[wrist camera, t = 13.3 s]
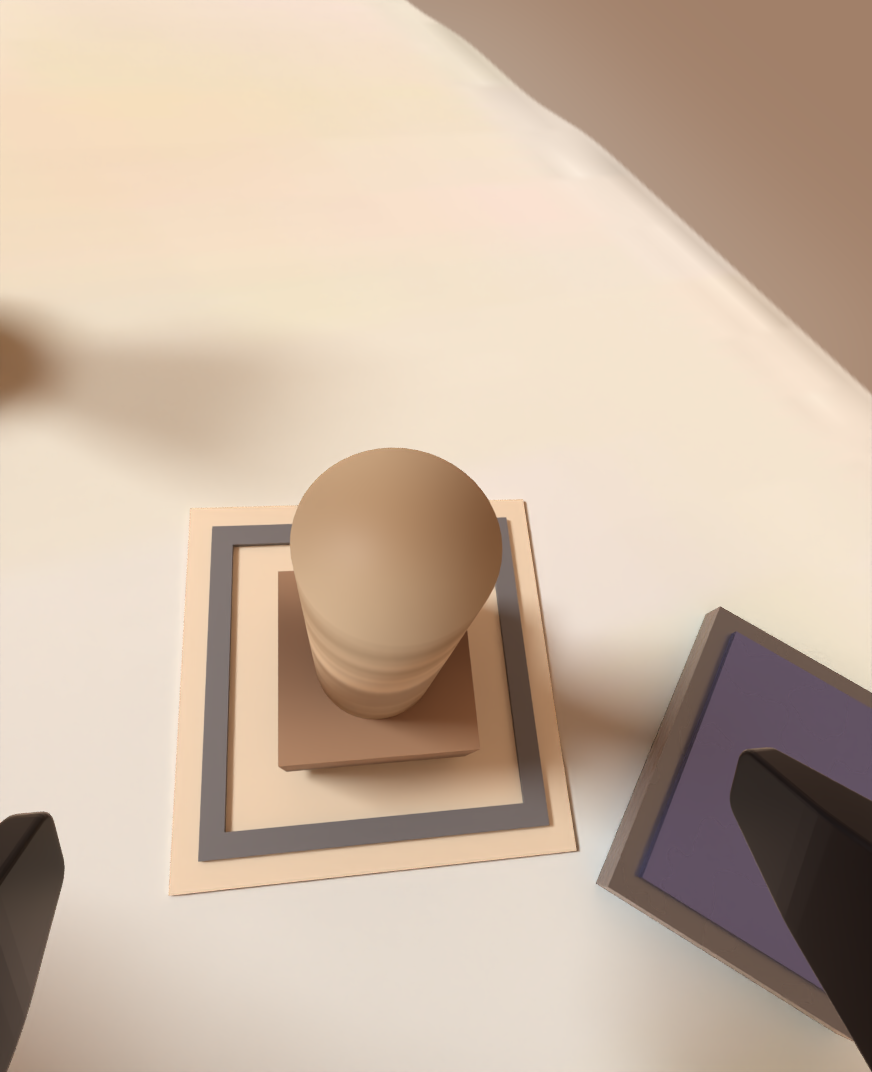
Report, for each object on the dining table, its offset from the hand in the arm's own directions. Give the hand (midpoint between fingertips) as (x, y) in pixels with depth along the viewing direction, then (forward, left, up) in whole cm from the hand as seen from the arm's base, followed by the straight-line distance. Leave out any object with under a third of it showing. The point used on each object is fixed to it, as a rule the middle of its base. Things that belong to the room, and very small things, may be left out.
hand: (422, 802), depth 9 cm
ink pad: (-2, -12, -13) cm, 18 cm away
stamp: (+4, 0, -12) cm, 13 cm away
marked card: (+4, 0, -13) cm, 13 cm away
